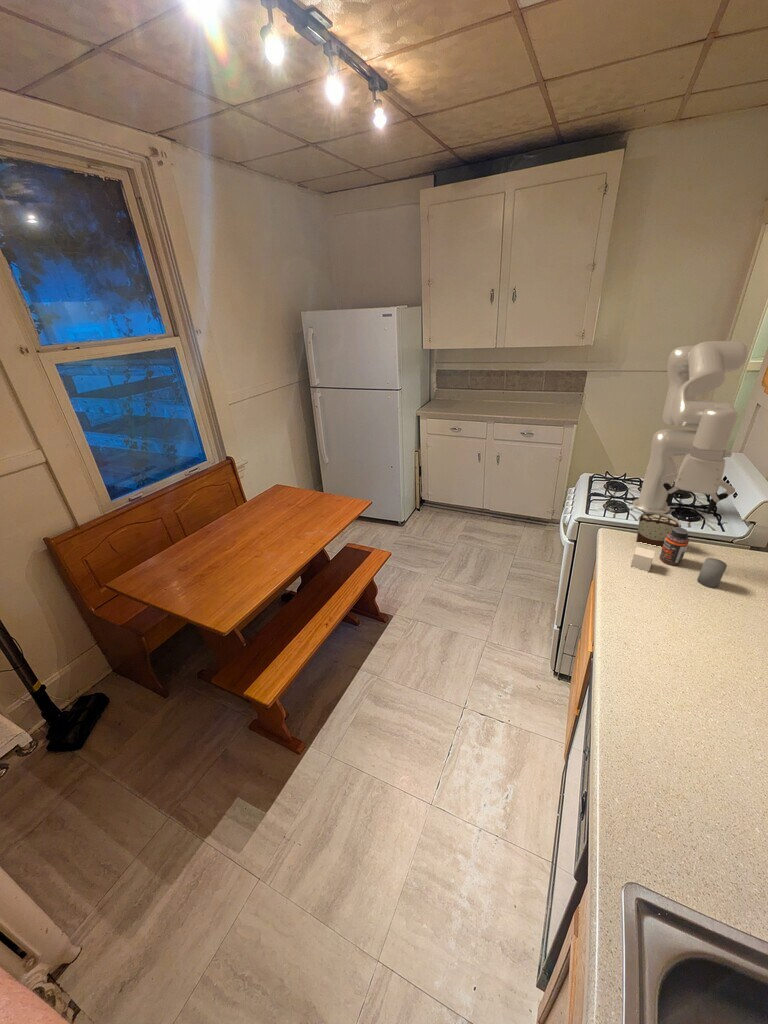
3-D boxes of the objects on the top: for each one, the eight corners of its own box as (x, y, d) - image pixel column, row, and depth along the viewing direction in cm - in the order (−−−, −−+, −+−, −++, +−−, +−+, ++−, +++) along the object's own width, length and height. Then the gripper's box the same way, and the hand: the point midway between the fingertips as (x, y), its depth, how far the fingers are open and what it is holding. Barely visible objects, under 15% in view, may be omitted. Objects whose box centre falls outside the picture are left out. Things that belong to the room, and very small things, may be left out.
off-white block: (632, 559, 130) (636, 546, 128) (650, 564, 127) (655, 551, 125) (630, 567, 127) (634, 553, 124) (648, 572, 124) (652, 558, 122)
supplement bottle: (654, 558, 130) (664, 528, 125) (666, 553, 132) (676, 523, 127) (673, 568, 125) (684, 536, 120) (685, 562, 127) (696, 531, 122)
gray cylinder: (697, 575, 122) (705, 556, 118) (718, 581, 119) (727, 561, 116) (696, 583, 118) (704, 564, 115) (718, 590, 115) (726, 570, 112)
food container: (673, 542, 138) (682, 516, 134) (673, 550, 134) (682, 524, 129) (632, 533, 144) (639, 508, 140) (631, 541, 140) (638, 515, 135)
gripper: (746, 454, 110) (725, 511, 118) (671, 445, 120) (655, 497, 127) (747, 462, 105) (724, 520, 112) (668, 451, 114) (652, 506, 122)
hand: (688, 508), depth 120 cm, fingers open, 9 cm apart
